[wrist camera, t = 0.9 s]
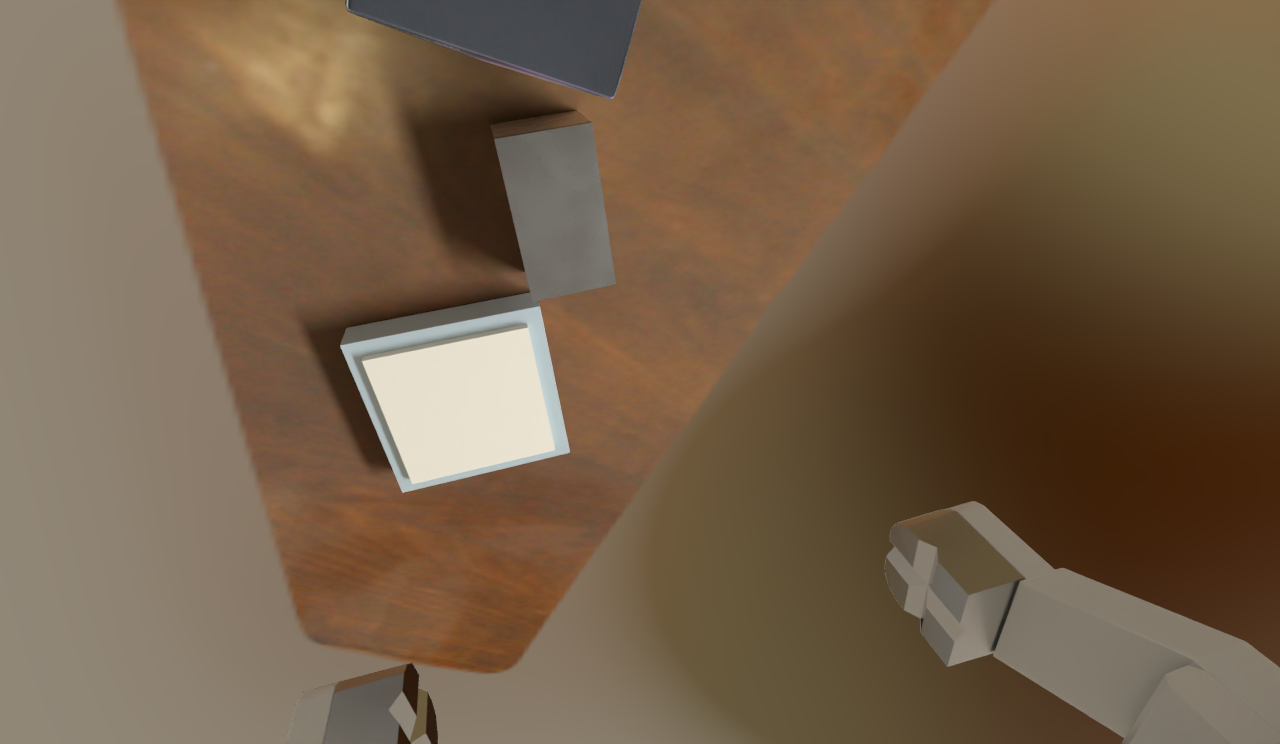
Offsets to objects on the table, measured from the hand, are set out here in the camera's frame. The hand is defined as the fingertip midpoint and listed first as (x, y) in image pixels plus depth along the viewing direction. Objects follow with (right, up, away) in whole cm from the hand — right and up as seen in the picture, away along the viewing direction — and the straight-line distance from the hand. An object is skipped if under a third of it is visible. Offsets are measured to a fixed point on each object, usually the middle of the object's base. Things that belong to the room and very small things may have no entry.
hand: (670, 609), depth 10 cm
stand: (-13, +3, +31) cm, 34 cm away
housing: (-6, +15, +26) cm, 31 cm away
